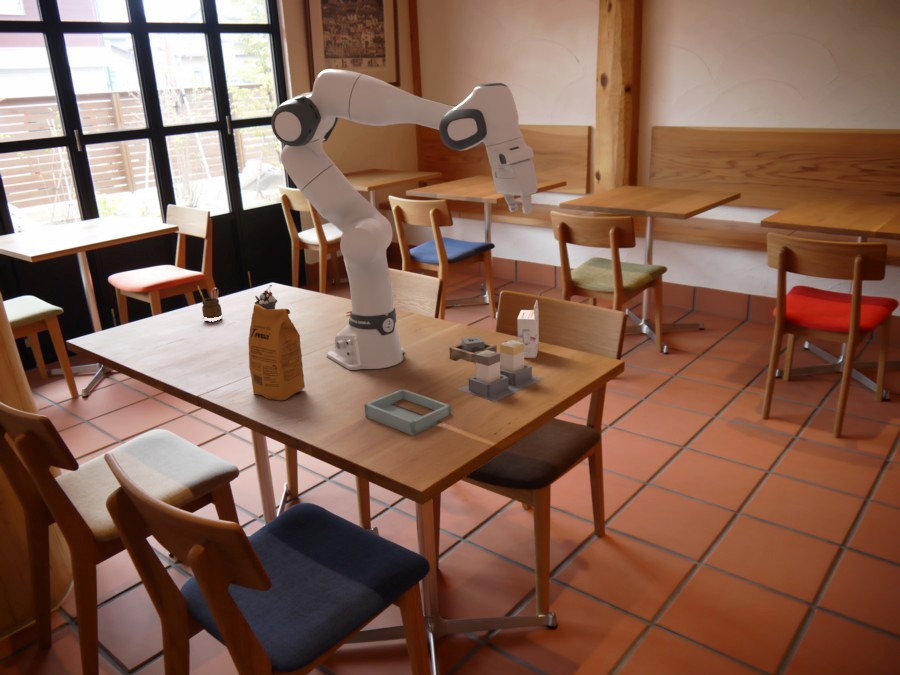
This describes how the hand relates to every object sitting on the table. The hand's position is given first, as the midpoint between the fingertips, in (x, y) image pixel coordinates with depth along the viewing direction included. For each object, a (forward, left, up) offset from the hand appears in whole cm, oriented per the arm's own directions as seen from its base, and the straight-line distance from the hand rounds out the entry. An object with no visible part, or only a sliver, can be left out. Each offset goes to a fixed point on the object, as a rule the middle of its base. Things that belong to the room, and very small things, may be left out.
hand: (521, 212), depth 175 cm
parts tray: (-3, -36, -41) cm, 55 cm away
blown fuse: (+2, -15, -40) cm, 42 cm away
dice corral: (-18, +2, -41) cm, 45 cm away
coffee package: (-39, -46, -41) cm, 73 cm away
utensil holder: (-111, -24, -41) cm, 121 cm away
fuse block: (+2, -10, -41) cm, 42 cm away
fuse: (+2, -6, -40) cm, 40 cm away
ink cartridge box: (-7, +12, -41) cm, 43 cm away
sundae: (-83, -20, -41) cm, 95 cm away
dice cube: (-18, +2, -41) cm, 45 cm away
